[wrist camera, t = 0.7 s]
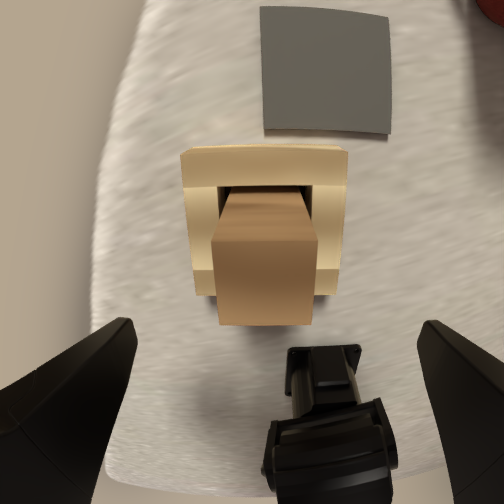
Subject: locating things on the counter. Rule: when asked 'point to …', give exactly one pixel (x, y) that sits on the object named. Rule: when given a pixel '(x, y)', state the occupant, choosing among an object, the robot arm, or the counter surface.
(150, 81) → the counter surface
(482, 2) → the mug
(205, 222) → the holder
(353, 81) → the mat
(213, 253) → the peg
